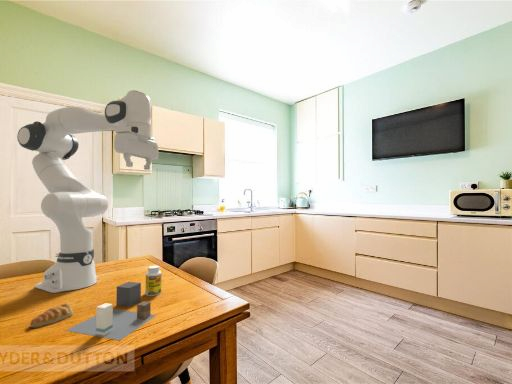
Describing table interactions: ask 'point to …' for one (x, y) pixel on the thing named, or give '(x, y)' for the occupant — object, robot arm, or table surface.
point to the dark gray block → (128, 294)
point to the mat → (121, 325)
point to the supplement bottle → (153, 281)
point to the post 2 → (143, 310)
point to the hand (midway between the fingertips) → (138, 168)
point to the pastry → (52, 316)
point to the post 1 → (104, 319)
